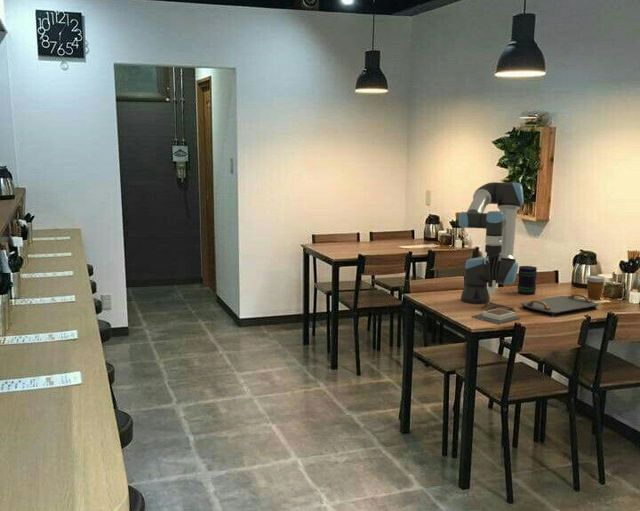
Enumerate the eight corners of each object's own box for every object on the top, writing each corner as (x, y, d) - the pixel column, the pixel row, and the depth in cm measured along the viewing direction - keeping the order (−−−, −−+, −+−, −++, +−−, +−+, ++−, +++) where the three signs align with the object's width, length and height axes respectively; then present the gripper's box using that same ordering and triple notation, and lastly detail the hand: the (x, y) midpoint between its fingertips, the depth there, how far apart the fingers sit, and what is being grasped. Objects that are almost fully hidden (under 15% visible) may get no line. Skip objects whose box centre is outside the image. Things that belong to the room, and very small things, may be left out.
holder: (482, 309, 320) (482, 304, 320) (492, 306, 325) (492, 301, 324) (505, 314, 309) (505, 309, 309) (515, 312, 314) (515, 307, 314)
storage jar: (534, 291, 360) (536, 266, 358) (536, 295, 351) (537, 269, 348) (516, 290, 362) (518, 265, 360) (517, 294, 353) (519, 268, 351)
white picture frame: (482, 311, 304) (497, 308, 311) (482, 315, 304) (497, 312, 312) (499, 316, 296) (515, 312, 304) (499, 320, 297) (514, 316, 304)
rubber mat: (471, 317, 304) (471, 316, 304) (492, 312, 314) (492, 311, 314) (499, 324, 292) (499, 323, 292) (519, 318, 302) (519, 317, 301)
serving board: (566, 300, 342) (567, 289, 341) (603, 309, 322) (604, 297, 321) (515, 308, 323) (515, 296, 322) (551, 319, 303) (552, 306, 302)
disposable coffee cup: (586, 299, 341) (587, 278, 339) (583, 295, 350) (585, 274, 348) (605, 300, 339) (606, 279, 337) (601, 296, 348) (603, 275, 346)
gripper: (491, 246, 287) (489, 296, 291) (508, 243, 295) (506, 292, 299) (478, 244, 293) (476, 293, 297) (495, 242, 301) (493, 289, 305)
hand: (491, 293), depth 298 cm, fingers closed
